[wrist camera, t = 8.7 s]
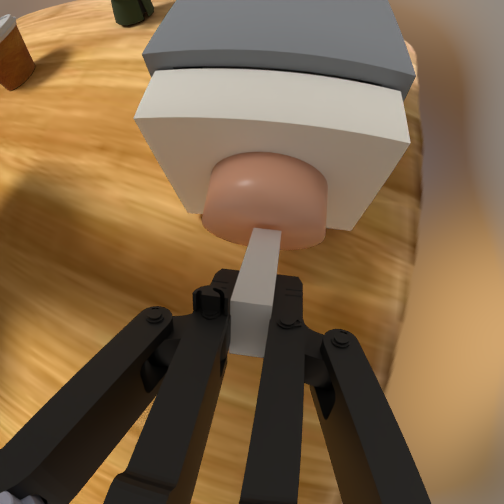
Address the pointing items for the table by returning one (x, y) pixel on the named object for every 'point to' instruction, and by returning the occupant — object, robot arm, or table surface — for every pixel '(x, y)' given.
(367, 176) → the white drawer
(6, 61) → the disposable coffee cup
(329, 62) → the block
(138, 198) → the table surface
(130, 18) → the character mug
